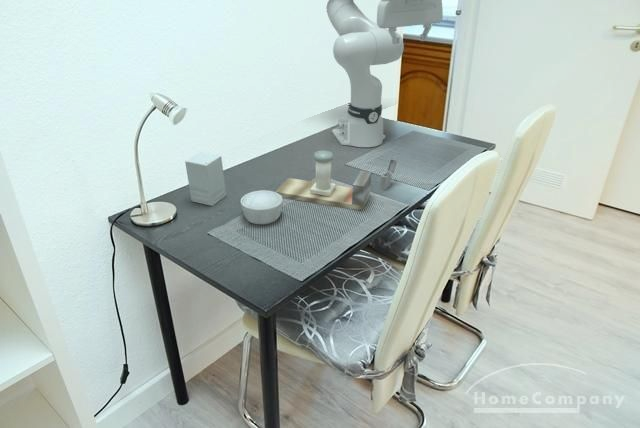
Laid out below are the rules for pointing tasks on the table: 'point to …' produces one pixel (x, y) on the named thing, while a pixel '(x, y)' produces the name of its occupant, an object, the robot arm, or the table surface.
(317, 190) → the white upright cylinder
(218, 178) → the supplement box
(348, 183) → the table surface
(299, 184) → the rail mount
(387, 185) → the lighter
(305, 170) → the table surface
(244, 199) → the ramekin
